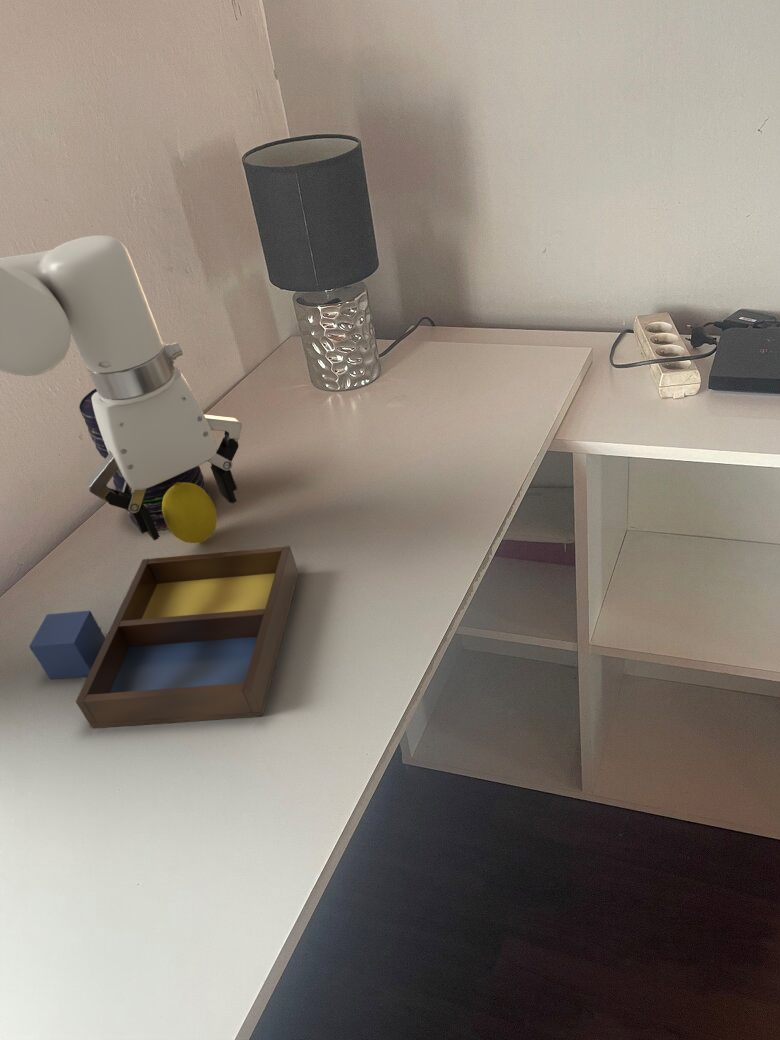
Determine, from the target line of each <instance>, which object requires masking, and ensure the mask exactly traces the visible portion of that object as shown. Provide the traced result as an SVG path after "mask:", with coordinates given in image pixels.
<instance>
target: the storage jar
mask: <svg viewBox="0 0 780 1040" xmlns="http://www.w3.org/2000/svg"><path fill="white" fill-rule="evenodd" d="M96 392H97V390H96V388H94V389H92V390H91V391H89V392H88V393H87V394H86V395H85V396H84V397H83V398H82V399H81V401H80V403H79V404H78V405H79V406H78V408H79V409H78V410H79V412H80V415H81V417H82V418H83V419H84V423H85V425H86V427H87V430H88V434H89V436H90V438H91V440H92V442H93V443H94V444H95V449H96V451H97V452H98V453H99V455H100V457H102V458H103V459H104V460H105V459H106V457H107V456H108V455H109V453H108V450H107V448H106V445H105V443H104V440H103V438H102V435H101V432H100V429H99V426H98V423H97V420H96V416H95V413H94V409H93V404H92V399H91V398H92V395H93V394H94V393H96ZM112 478H113V480H112V481H113V482H112V483H113V486H114V488H115V489H114V490H117V491H121V492H122V490H123V487H124V483H125V479H124V477H120V476H119V474H118V472H116V473H115V475H114V476H113V477H112ZM178 482H180V483H183V482H187V483H193V484H196V485H198V486H200V487H201V488H202V489H203V490H205V492H206V493H207V494H208V496H209V497H210V493H209V490H208V488H207V487H206V483H205V480H204V475H203V472H202V469H201V466H200V465H199V466H197V467H195V468H192V469H190V470H188V471H186V472H184V473H181V474H179V475H177V476H175V477H173V478H170V479H168V480H166V481H164V482H161V483H159V484H157V485H154V486H152V487H150V488H147V489H146V491H145V494H144V498H143V501H142V503H143V504H144V506H145V507H146V508H147V510H148V511H149V514H150V516H151V518H152V520H153V523H154V525H155V527H156V529H157V531H165V530H169V529H168V527H167V525H166V522H165V520H164V516H163V511H162V502H163V497H164V495H165V494H166V492H167V491H168V490H169V489H170V488H171V487H172V486H174V485H175V484H176V483H178ZM125 510H126V512H127V513H128V516H129V519H130V521H131V523H132V524H133V525H134V526H135V528H138V527H137V525H136V522H135V520H134V518H133V516H132V514H131V512H130V511H129V510H127V509H125Z"/></svg>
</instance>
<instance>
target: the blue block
mask: <svg viewBox="0 0 780 1040" xmlns="http://www.w3.org/2000/svg"><path fill="white" fill-rule="evenodd" d="M36 631H37V632H36V633H35V635H34V636H33V638H32V641H31V642H30V644H29V649H30V651H31V652H32V654H33V656H34V657H35V658H36V660H37V661H38V663H39V664H40V666H41V668H42V670H43V671H44V672H45V674H46V675H47V677H48V679H49V680H57V679H59V680H60V679H72V678H83V677H88V674H89V672H90V670H91V668H92V666H93V664H94V662H95V660H96V657H97V655H98V653H99V651H100V649H101V647H102V645H103V643H104V640H105V638H106V636H105V634H104V633H103V631H102V629H101V627H100V625H99V624H98V622H97V620H96V618H95V617H94V615H93V613H92V611H91V610H83V611H71V612H60V613H59V612H58V613H48V614H46V615H45V617H44V618H43V621H42V623H41V624H40V626H39V628H38V630H36Z"/></svg>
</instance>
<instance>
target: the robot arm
mask: <svg viewBox="0 0 780 1040" xmlns="http://www.w3.org/2000/svg"><path fill="white" fill-rule="evenodd" d="M71 339H73V341H74V343H75V345H76V347H77V350H78V352H79V354H80V357H81V358H82V361H83V363H84V365H85V367H86V370H87V373H88V374H89V377H90V379H91V381H92V383H93V386H94V389H96V390H97V392H96V393H94V394H93V395H92V398H91V399H92V404H93V409H94V413H95V416H96V420H97V423H98V426H99V429H100V432H101V435H102V438H103V440H104V443H105V445H106V448H107V450H108V453H109V455H108V456H107V457H106V459H105V458H104V460H103V461H102V462H101V463H100V465H99V466H98V467H97V468H96V469H95V471H94V472H93V474H92V475H91V476H90V477H89V479H88V480H87V481H86V482H85V487H86V488H87V490H88V491H89V492H90V493H91V494H93V495H94V496H96V497H98V498H100V499H101V500H103V501H105V502H106V503H108V505H110V506H113V507H117V508H121V509H124V510H126V509H127V510H129V511H130V512H131V514H132V516H133V518H134V520H135V522H136V525H137V527H136V528H138V530H139V532H140V533H141V534H142V535H143V534H145V533H147V534H148V535H149V537H150V538H151V540H153V541H157V540H159V538H160V537H161V535H160V533H159V532H158V531H159V530H157V529H156V527H155V525H154V523H153V520H152V518H151V516H150V514H149V511H148V510H147V508H146V507H145V506H144V504H143V503H142V501H143V498H144V494H145V491H146V489H147V488H150V487H152V486H154V485H157V484H159V483H161V482H164V481H166V480H168V479H170V478H173V477H175V476H177V475H179V474H181V473H184V472H186V471H188V470H190V469H192V468H195V467H197V466H199V467H200V466H201V465H203V464H205V463H207V462H208V463H210V470H211V472H212V474H213V477H214V480H215V483H216V485H217V488H218V491H219V494H220V495H221V496H222V497H223V498H224V499H225V500H226V501H227V502H228V503H229V504H235V503H237V498H236V495H235V491H238V487H237V485H236V482H235V479H234V476H233V474H232V470H231V469H232V468H233V460H234V457H235V455H236V453H237V451H238V449H239V446H240V445H239V440H240V436H241V431H242V426H243V425H242V423H241V422H240V421H239V420H238V419H237V418H235V417H230V416H220V415H211V414H204V412H203V410H202V407H201V406H200V403H199V401H198V399H197V397H196V395H195V394H194V392H193V389H192V388H191V386H190V385H189V383H188V381H187V379H186V377H185V376H184V374H183V373H182V372H181V370H180V369H179V368H178V366H176V365H174V364H175V361H176V360H177V358H179V357H182V356H183V349H182V348H181V346H180V344H179V343H178V342H174V343H167V344H166V343H165V342H164V341H163V339H162V337H161V334H160V331H159V329H158V326H157V323H156V321H155V318H154V316H153V313H152V310H151V308H150V305H149V303H148V299H147V296H146V294H145V292H144V289H143V286H142V284H141V282H140V279H139V276H138V274H137V270H136V268H135V265H134V263H133V261H132V257H131V256H130V253H129V251H128V249H127V247H126V246H125V244H123V243H122V241H121V240H119V239H118V238H116V237H113V236H110V235H100V234H99V235H97V234H96V235H88V236H82V237H78V238H75V239H71V240H69V241H66V242H64V243H62V244H59V245H57V246H56V247H54V248H53V249H48V250H44V251H38V252H33V253H26V254H19V255H10V256H3V257H0V372H3V373H7V374H10V375H14V376H21V377H34V376H40V375H44V374H47V373H48V372H50V371H52V370H54V369H55V368H56V367H57V366H59V365H60V364H61V363H62V361H63V360H64V359H65V358H66V356H67V354H68V352H69V350H70V346H71V341H72V340H71ZM213 431H220V432H224V434H223V435H224V436H223V438H222V439H221V441H220V444H219V445H218V446H217V441H216V439H215V436H214V433H213ZM116 472H118V474H119V476H120V477H124V479H125V483H124V487H123V490H122V492H121V491H117V490H116V489H113V488H110V487H109V486H108V484H109V482H110V481H111V480H112V478H113V476H114V475H115V473H116ZM127 510H126V511H127Z"/></svg>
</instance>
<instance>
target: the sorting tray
mask: <svg viewBox="0 0 780 1040" xmlns="http://www.w3.org/2000/svg"><path fill="white" fill-rule="evenodd" d="M299 573H300V571H299V569H298V566H297V563H296V559H295V557H294V554H293V551H292V547H291V546H290V545H284V546H273V547H262V548H252V549H240V550H233V551H232V550H231V551H229V550H228V551H220V552H208V553H198V554H196V553H195V554H187V555H175V556H166V557H153V558H144V559H141V561H140V563H139V566H138V569H137V570H136V573H135V575H134V577H133V579H132V581H131V583H130V586H129V588H128V589H127V591H126V594H125V596H124V598H123V600H122V602H121V604H120V606H119V608H118V611H117V613H116V615H115V617H114V619H113V621H112V624H111V625H110V627H109V629H108V632H107V634H106V636H105V640H104V643H103V645H102V647H101V649H100V651H99V653H98V655H97V657H96V660H95V662H94V664H93V666H92V668H91V670H90V672H89V674H88V676H86V678H85V681H84V683H83V685H82V686H81V690H80V692H79V693H78V696H77V698H76V700H75V704H76V706H77V707H78V708H79V710H80V711H81V713H82V715H83V716H84V718H85V719H86V722H88V724H89V726H90V728H92V729H102V728H113V727H114V728H115V727H128V726H129V727H130V726H142V725H156V724H157V725H158V724H171V723H184V722H185V723H186V722H187V723H188V722H199V721H215V720H226V719H227V720H228V719H242V718H255V717H257V718H258V717H263V716H264V712H265V709H266V704H267V700H268V697H269V692H270V689H271V685H272V681H273V677H274V671H275V668H276V665H277V661H278V656H279V653H280V649H281V645H282V640H283V638H284V632H285V628H286V625H287V620H288V617H289V612H290V608H291V605H292V600H293V597H294V593H295V589H296V584H297V581H298V576H299Z"/></svg>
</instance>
